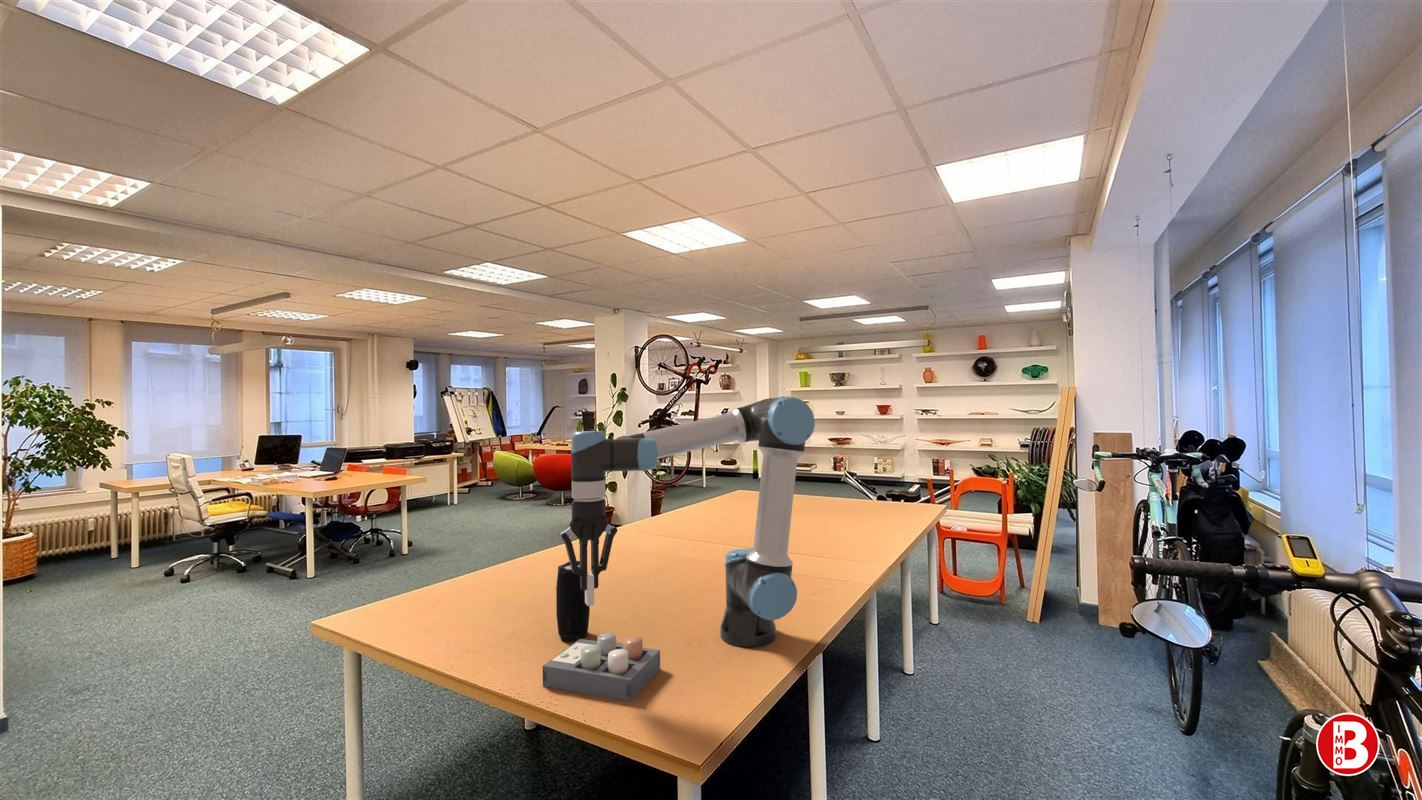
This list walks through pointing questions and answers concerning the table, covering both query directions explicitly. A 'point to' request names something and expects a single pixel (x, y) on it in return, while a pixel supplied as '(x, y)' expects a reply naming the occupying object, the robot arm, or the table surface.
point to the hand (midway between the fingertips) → (589, 603)
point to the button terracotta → (634, 648)
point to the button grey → (606, 643)
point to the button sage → (591, 657)
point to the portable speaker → (571, 605)
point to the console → (599, 673)
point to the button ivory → (618, 662)
